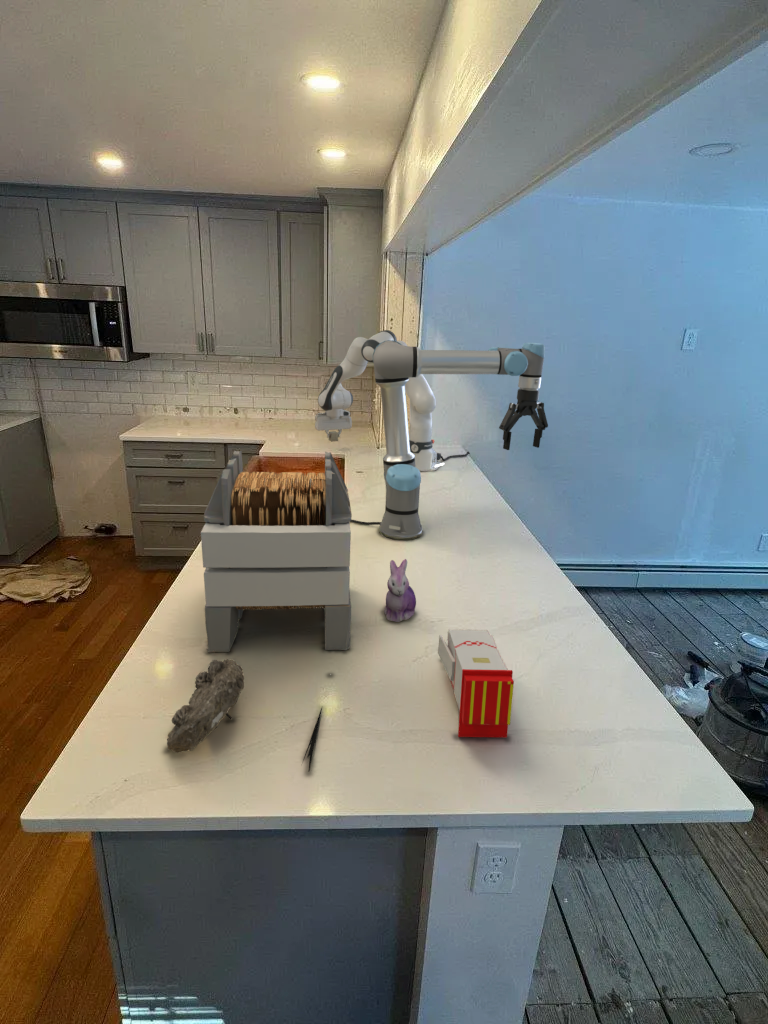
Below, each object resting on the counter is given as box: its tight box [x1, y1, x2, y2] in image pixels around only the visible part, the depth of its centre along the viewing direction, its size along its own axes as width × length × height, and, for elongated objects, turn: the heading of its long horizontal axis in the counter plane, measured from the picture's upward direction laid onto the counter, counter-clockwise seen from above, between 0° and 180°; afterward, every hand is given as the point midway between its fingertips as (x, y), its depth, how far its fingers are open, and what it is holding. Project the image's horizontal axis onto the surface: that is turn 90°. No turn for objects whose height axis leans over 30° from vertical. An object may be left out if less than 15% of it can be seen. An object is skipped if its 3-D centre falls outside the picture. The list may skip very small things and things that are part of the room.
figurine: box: [384, 558, 417, 623], centre depth 145 cm, size 9×10×15 cm
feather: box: [301, 673, 332, 771], centre depth 108 cm, size 2×28×2 cm
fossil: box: [166, 658, 245, 754], centre depth 106 cm, size 22×10×15 cm
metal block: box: [328, 430, 339, 443], centre depth 309 cm, size 4×4×5 cm
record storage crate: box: [200, 450, 353, 653], centre depth 138 cm, size 34×33×41 cm
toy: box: [437, 628, 515, 738], centre depth 117 cm, size 12×13×30 cm
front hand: (521, 448), depth 206 cm, fingers open, 13 cm apart
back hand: (333, 437), depth 309 cm, fingers closed on metal block, 4 cm apart
